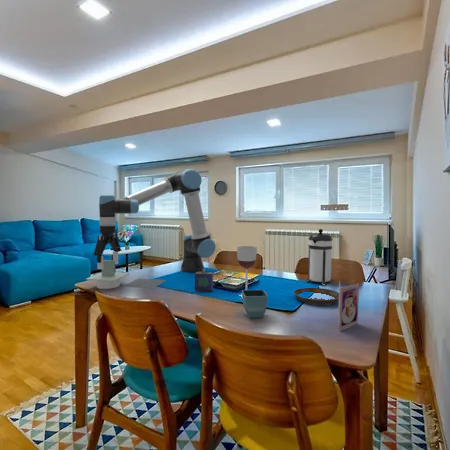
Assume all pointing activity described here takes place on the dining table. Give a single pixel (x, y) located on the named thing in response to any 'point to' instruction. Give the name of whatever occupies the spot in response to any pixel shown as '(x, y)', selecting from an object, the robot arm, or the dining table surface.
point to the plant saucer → (315, 300)
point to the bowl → (108, 284)
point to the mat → (144, 283)
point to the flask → (203, 281)
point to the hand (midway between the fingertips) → (108, 266)
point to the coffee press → (320, 257)
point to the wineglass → (246, 258)
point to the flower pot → (254, 302)
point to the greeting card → (348, 305)
